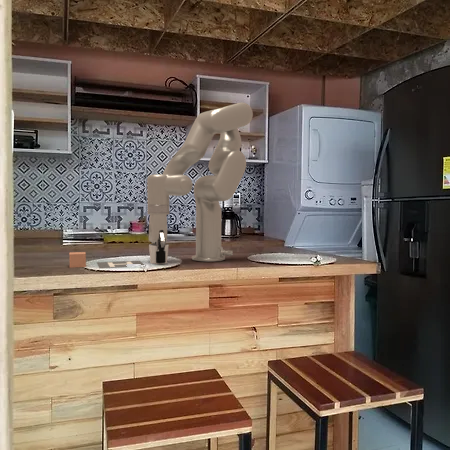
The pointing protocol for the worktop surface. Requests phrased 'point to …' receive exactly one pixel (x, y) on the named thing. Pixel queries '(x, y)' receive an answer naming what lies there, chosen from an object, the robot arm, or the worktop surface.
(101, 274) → the worktop surface
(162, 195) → the robot arm
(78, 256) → the terracotta block
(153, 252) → the beige tapered cup
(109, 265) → the letter mat
